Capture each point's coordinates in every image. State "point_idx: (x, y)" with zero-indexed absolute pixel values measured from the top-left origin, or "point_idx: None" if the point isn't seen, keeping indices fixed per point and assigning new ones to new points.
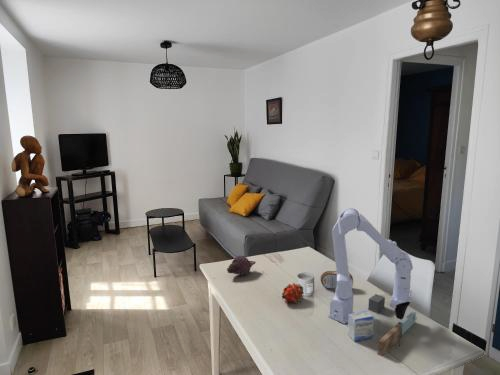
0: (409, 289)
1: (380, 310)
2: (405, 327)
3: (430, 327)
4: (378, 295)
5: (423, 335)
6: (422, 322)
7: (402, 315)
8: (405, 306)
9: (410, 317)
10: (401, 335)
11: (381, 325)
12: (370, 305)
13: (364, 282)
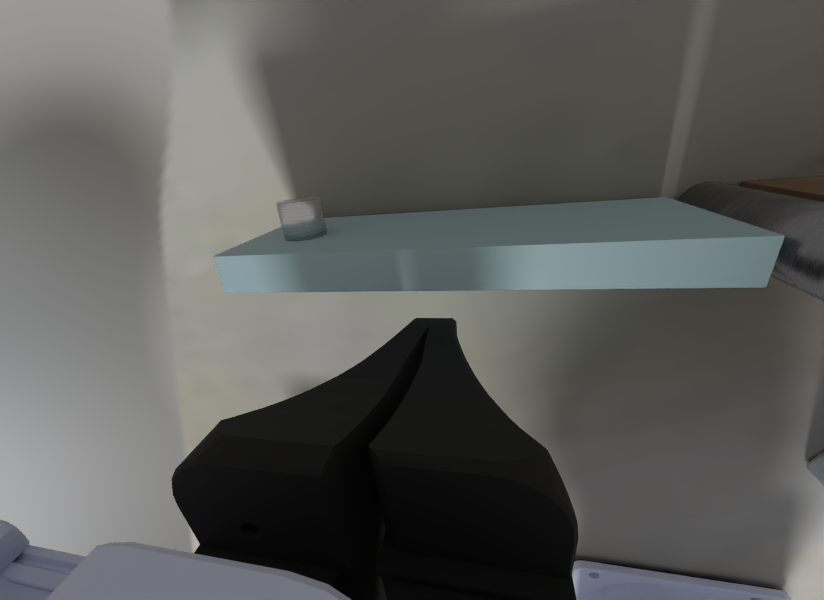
0: None
1: None
2: (582, 213)
3: (243, 52)
4: None
5: (464, 6)
6: (240, 169)
7: (458, 344)
8: (530, 479)
9: (415, 244)
10: (722, 185)
11: (593, 405)
12: None
13: None
